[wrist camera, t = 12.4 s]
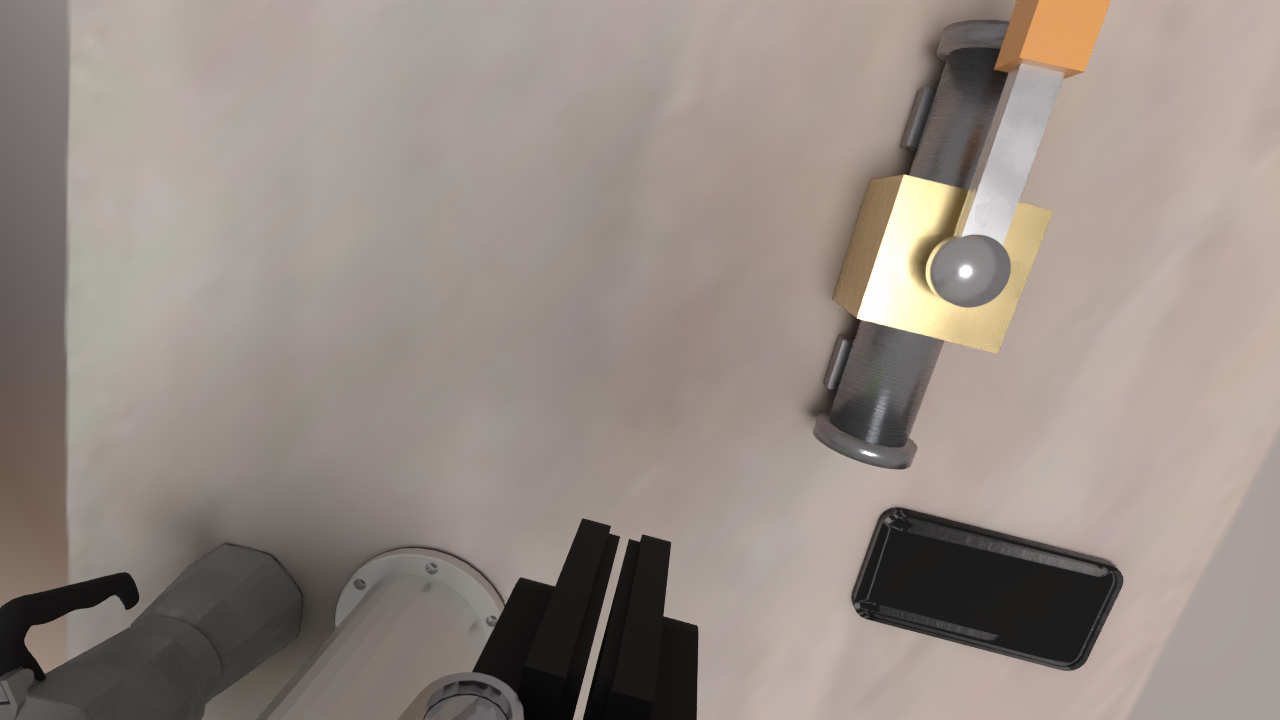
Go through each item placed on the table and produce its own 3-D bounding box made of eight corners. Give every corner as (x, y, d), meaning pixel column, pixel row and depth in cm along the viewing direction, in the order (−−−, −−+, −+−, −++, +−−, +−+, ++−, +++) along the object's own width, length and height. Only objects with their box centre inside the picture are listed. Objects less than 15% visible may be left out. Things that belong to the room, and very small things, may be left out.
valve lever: (979, 308, 31) (1001, 317, 28) (912, 292, 31) (928, 300, 29) (1097, -17, 27) (1133, -37, 25) (1020, -33, 27) (1049, -55, 25)
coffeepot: (330, 670, 49) (119, 930, 31) (217, 680, 50) (-45, 936, 33) (268, 480, 45) (-5, 652, 28) (150, 496, 47) (-182, 670, 29)
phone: (887, 508, 41) (1130, 571, 40) (882, 500, 42) (1119, 560, 41) (848, 616, 43) (1079, 676, 42) (845, 605, 44) (1070, 664, 43)
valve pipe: (906, 444, 40) (951, 498, 33) (795, 415, 40) (814, 463, 33) (1045, 67, 35) (1135, 31, 27) (915, 37, 35) (970, -7, 28)
